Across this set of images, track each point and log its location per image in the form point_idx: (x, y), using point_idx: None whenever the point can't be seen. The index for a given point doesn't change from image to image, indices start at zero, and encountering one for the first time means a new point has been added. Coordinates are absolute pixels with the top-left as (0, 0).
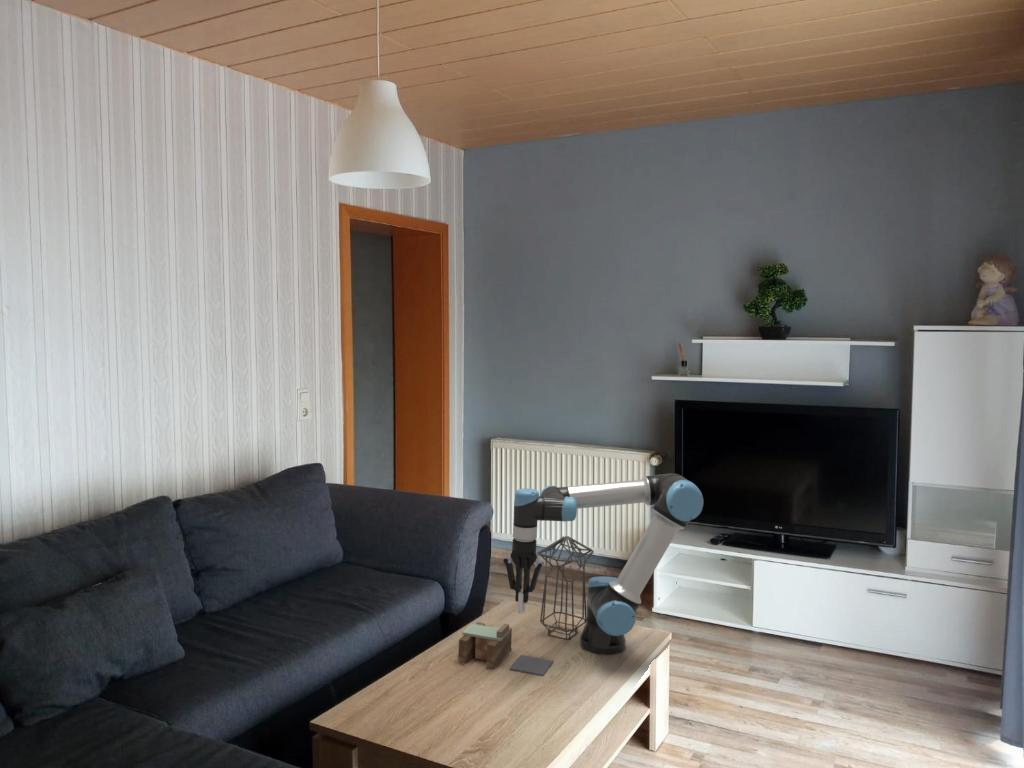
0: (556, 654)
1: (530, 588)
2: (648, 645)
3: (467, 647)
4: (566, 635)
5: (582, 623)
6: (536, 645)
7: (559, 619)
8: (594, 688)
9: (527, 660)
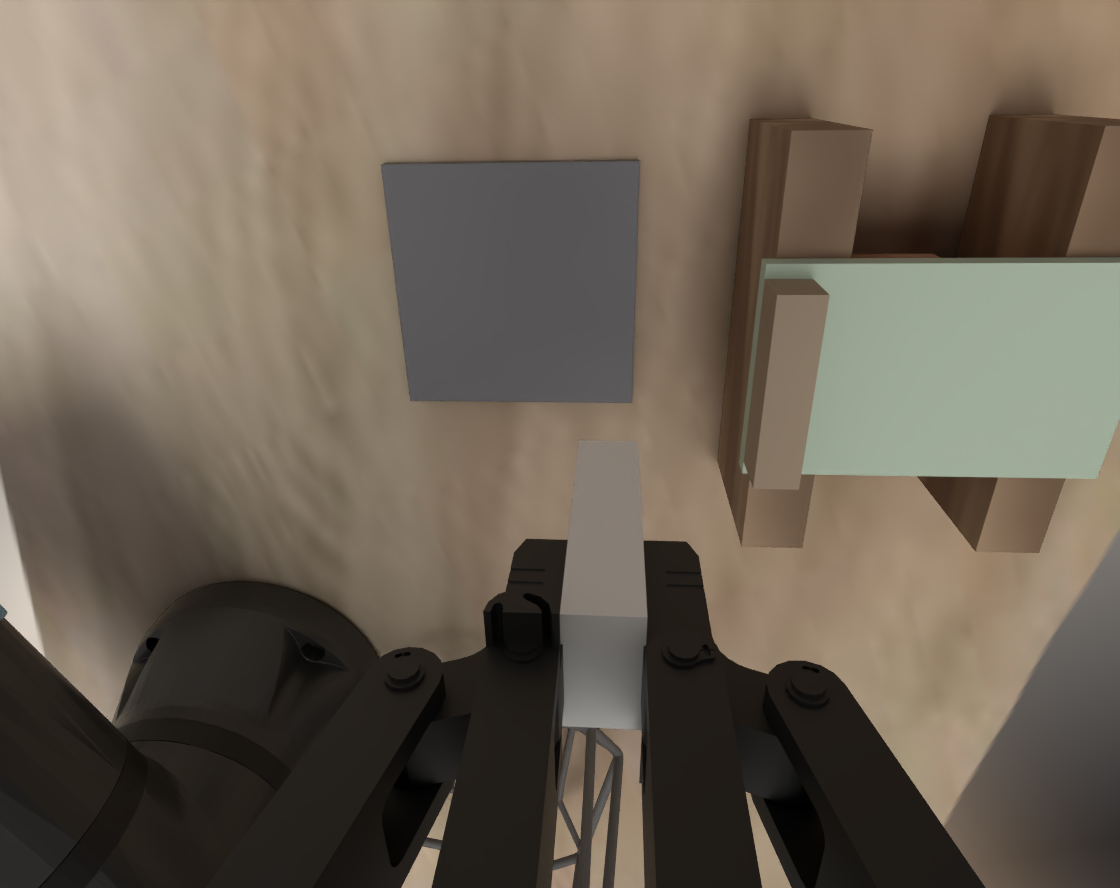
0: (440, 500)
1: (396, 703)
2: None
3: (1048, 159)
4: None
5: None
6: None
7: None
8: (12, 128)
9: (560, 336)
